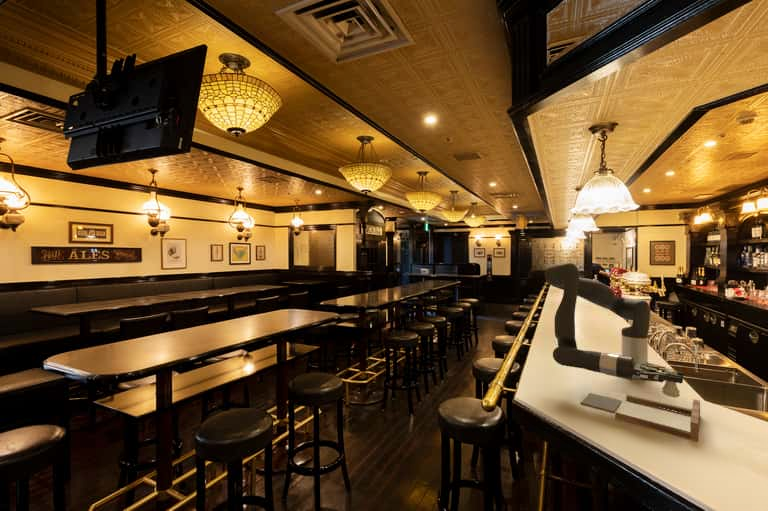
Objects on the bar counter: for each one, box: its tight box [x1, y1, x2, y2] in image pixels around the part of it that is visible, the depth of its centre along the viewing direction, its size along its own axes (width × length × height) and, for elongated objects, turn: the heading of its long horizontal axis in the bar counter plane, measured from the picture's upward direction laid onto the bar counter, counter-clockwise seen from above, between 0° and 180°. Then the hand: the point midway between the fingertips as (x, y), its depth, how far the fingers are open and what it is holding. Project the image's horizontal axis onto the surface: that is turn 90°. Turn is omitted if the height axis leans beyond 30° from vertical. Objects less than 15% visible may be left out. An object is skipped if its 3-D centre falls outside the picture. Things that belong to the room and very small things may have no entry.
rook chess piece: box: [661, 367, 681, 398], centre depth 108 cm, size 4×4×8 cm
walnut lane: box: [614, 394, 701, 442], centre depth 110 cm, size 21×20×5 cm
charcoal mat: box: [580, 392, 622, 414], centre depth 121 cm, size 12×10×1 cm
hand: (682, 378), depth 106 cm, fingers closed on rook chess piece, 3 cm apart
